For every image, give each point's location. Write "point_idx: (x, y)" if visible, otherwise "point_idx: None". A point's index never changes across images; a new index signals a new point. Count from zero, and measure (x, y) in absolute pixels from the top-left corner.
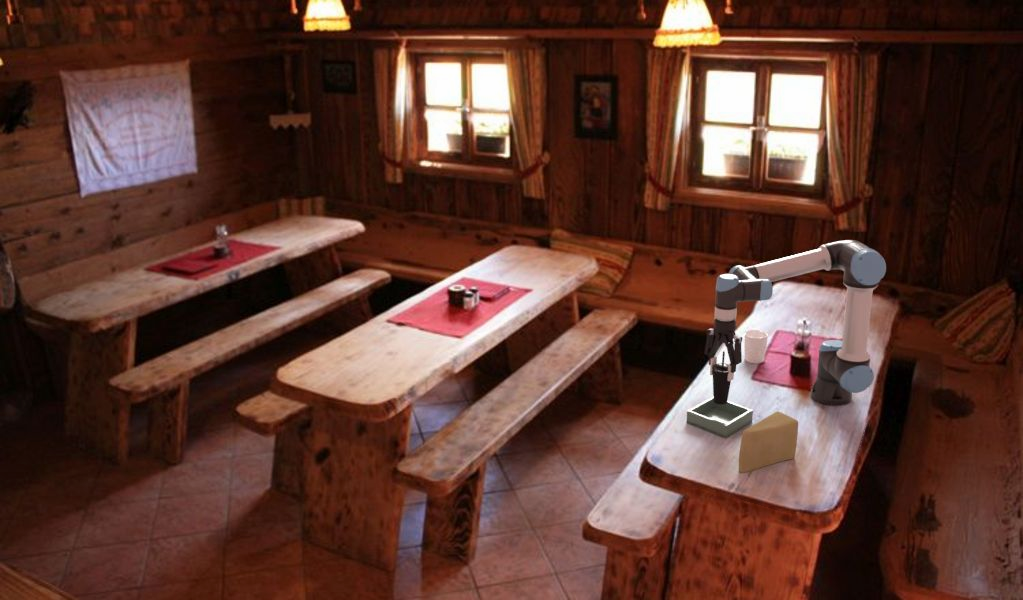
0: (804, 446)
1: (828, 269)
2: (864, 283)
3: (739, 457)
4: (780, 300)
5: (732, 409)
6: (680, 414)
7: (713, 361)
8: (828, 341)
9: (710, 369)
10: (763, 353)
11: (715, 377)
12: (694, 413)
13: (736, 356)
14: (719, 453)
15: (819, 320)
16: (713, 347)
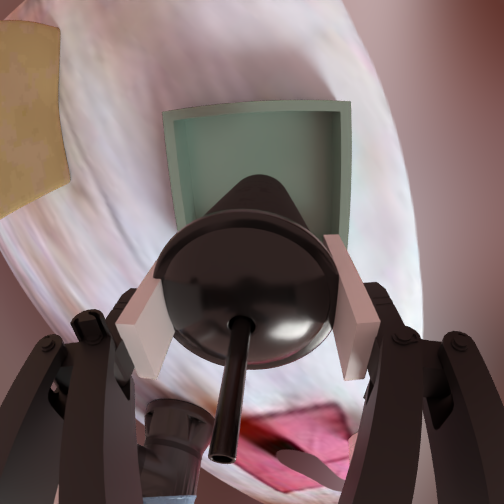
0: (51, 241)
1: None
2: None
3: (34, 22)
4: None
5: None
6: (387, 141)
7: (346, 315)
8: None
9: (346, 254)
10: (349, 453)
11: (258, 201)
12: (315, 101)
13: (14, 398)
14: (135, 36)
15: (335, 496)
16: (393, 464)
